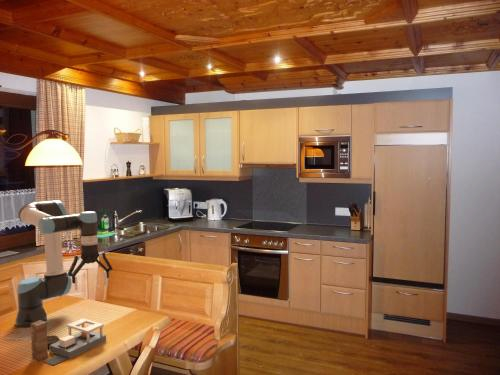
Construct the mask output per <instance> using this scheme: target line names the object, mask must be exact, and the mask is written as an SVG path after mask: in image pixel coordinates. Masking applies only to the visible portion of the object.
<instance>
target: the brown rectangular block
mask: <svg viewBox="0 0 500 375" xmlns="http://www.w3.org/2000/svg"><path fill="white" fill-rule="evenodd" d="M47 323H48V322H47V321H41V320H39V321H37V322H34V323H31V327H30V340H31V356H32V357H31V359H32V360H34V361H36V362H41V361H44V360H46V359H49V349H48V348H49V347H48V343H47V336H48V325H47Z"/></svg>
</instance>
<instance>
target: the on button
mask: <svg viewBox="0 0 500 375" xmlns="http://www.w3.org/2000/svg"><path fill="white" fill-rule="evenodd" d="M74 343H75V337H73V336H72V335H71V336H70V335H69V334H68V335H66V336H64V337H61V338H59V345H60V346H62V347H68V346H70V345H72V344H74ZM68 348H69V347H68Z"/></svg>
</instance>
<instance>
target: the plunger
mask: <svg viewBox="0 0 500 375" xmlns="http://www.w3.org/2000/svg"><path fill="white" fill-rule="evenodd" d="M88 326H89V325H84V327H82V326H81V328H86V327H88ZM80 332H81V333H82V337H87V333H86V332H82V331H80ZM89 335H90V333H89Z"/></svg>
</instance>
